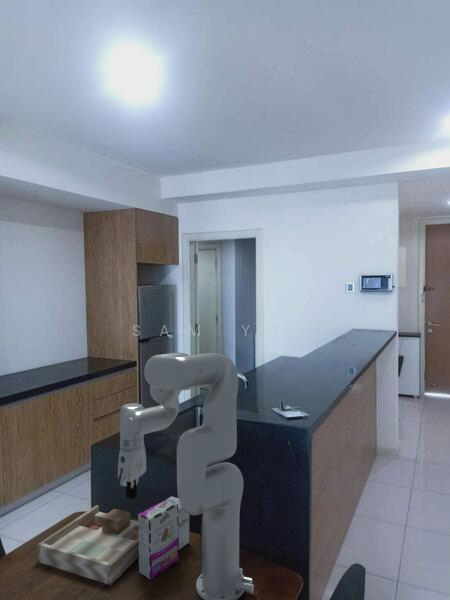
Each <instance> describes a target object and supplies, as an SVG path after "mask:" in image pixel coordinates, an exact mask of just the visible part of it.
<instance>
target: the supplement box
mask: <svg viewBox="0 0 450 600" xmlns="http://www.w3.org/2000/svg"><path fill="white" fill-rule="evenodd" d="M167 499H168V500H170V501H173V502H175V503H178V534H179V550H181V549H182V548H183V547H185V546H186V545H187V544H189V543H190V515H189V514H187V513H186V512H184V510H183V509H182V507H181V505H180V503H179V499H178V497H175V496H169V497H168V498H167Z"/></svg>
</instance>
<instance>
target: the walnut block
mask: <svg viewBox="0 0 450 600" xmlns="http://www.w3.org/2000/svg"><path fill="white" fill-rule="evenodd" d="M130 519H131V512H130V511H126V510H121V509H117V508H113V509H112V510H110V511H109V512H108V513H106V515H105V516H103V517H102V531H106V532H110V533H113V534H117V535H119V534H120V533H121V532H122V531H123V530H125V529H126V528H127V527H128V526H130Z"/></svg>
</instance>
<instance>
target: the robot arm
mask: <svg viewBox="0 0 450 600" xmlns="http://www.w3.org/2000/svg"><path fill="white" fill-rule="evenodd" d="M143 373H144V379H145V381H146V383H148V385H150V387H149V393H150V396H151V398H152V399H153V400H154V402H156V403H158V404H159V405H157V406H155V405H154V406H151V407H147V408H145V407H144V406H143V405H142V403H141V404H140V403H136V402H133V403H132V402H131V403H126V404H123V405H122V406H121V408H120V412H119V413H120V419H119V421H120V426H119V439H120V440H119V448H120V449H119V455H118V463H117V479H118V480H119V481H120V482H119V483H120V484H119V486H121V487H125V498H126V499H129V500H133V501H134V500H135V499H136V498H138V484H139V479H140V477H142V476H143V475H144V474H145V473H146V472H147V452H146V446H145V441H144V438H145V437H144V436H145V435H147V434H150V433H154V432H158V431H162V430H166V429H167V428H169V426H170V425H171V424H173V422H174V421H175V419H176V418H177V416H178V413H179V410H180V401H179V400H180V399H179V396H180V394H181V393H182V391H189V390H194V389H199V388H203V387H208V386H209V387H210V388H209V391H208V392H207V394H206V396H205V398H204V401H203V407H202V424H201V425H200V426H196V427H193V428H190V429H188V430H185V431H184V432H183V433H182V434H181V435H180V436H179V439H178V442H177V445H176V487H177V488H176V489H177V498H178V499H179V503H180V505H181V507H182V509H183V510H184V512H186V513H187V514H189V516H199V515H201V514H202V518H201V519H202V521H201V573H200V575H199V576H198V577H197V578H196V582H195V591H196V593H197V594H198V596H199V597H200V599H203V600H238V599H239V598H240V597H242V595H243V594H244V592H246V593H250V594H254V589H255V584H253V577H249V576H245V575H244V574H243V569H244V568H242V567H240V510H241V503H242V502H241V501H242V497H243V492H244V478H243V477H244V476H243V474H242V471H241V470H240V469H239V468H238V466H237V465H235V464H234V463H231V462H227V461H225V460H228V459H229V458H231V457H232V456H234V454H236V451H237V443H238V438H237V435H238V433H237V431H238V429H237V426H238V425H237V421H238V420H237V398H238V390H239V374H238V370H237V367H236V365H235V363H234V362H233V360H232V359H231V358H230V357H228V355H226V354H222V353H218V352H209V353H200V354H192V355H190V354H187V353H184V352H170V353H164V354H163V353H162V354H155V355H153V356H152V357H150V358H149V359H147V361H146V363H145V366H144V370H143ZM223 461H225V462H223Z"/></svg>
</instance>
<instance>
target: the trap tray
mask: <svg viewBox="0 0 450 600" xmlns="http://www.w3.org/2000/svg"><path fill="white" fill-rule="evenodd" d="M106 514H107V512H106V513H105V512H101V511H100V506H99V505H98V504H96V505H94V506H93V507H91V508H89V509H88V510H87V511H85V512H84V513H82V514H81V515H79V516H78V517H76V518H75V519H73V520H72V521H70V522H69V523H67V524H66V525H64V526H62V527H61V528H60V529H58V530H57V531H55V532H54V533H52V534H51V535H49V536H48V537H46V538H44V539H43V540H42V541H40V542H39V543H37V563H39V564H43V565H47V566H50V567H52V568H56V569H58V570H62V571H65V572H68V573H71V574H75V575H76V576H77V575H78V576H80V577H84V578H87V579H90V580H93V581H97V582H99V583H103V584H106V585H109V586H112V584H113V583H114V582H116V580H117V579H118V578H119V577H120V576H122V575H123V574H124V573H125V572H126V571H127V570H128V569H129V568H130V567H131V566H132V565H133V564H134V563H135V562H136V561H137V560H138V559H139V558H138V557H139V538H137V539H136V540H132V539H133V538H134V536H135V535H134V534H138V520H133V519H132V518H130V526H128V527H127V528H126V529H125V530H123V531H122V532H121V533H120V534H119V535H117V534H113V533H110V532H106V531H102V517H103V516H105V515H106ZM133 535H134V536H133ZM137 558H138V559H137ZM136 559H137V560H136ZM135 560H136V561H135ZM134 561H135V562H134ZM133 562H134V563H133ZM132 563H133V564H132ZM131 564H132V565H131ZM130 565H131V566H130ZM129 566H130V567H129ZM128 567H129V568H128ZM127 568H128V569H127ZM126 569H127V570H126ZM125 570H126V571H125ZM124 571H125V572H124ZM123 572H124V573H123ZM122 573H123V574H122Z"/></svg>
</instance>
